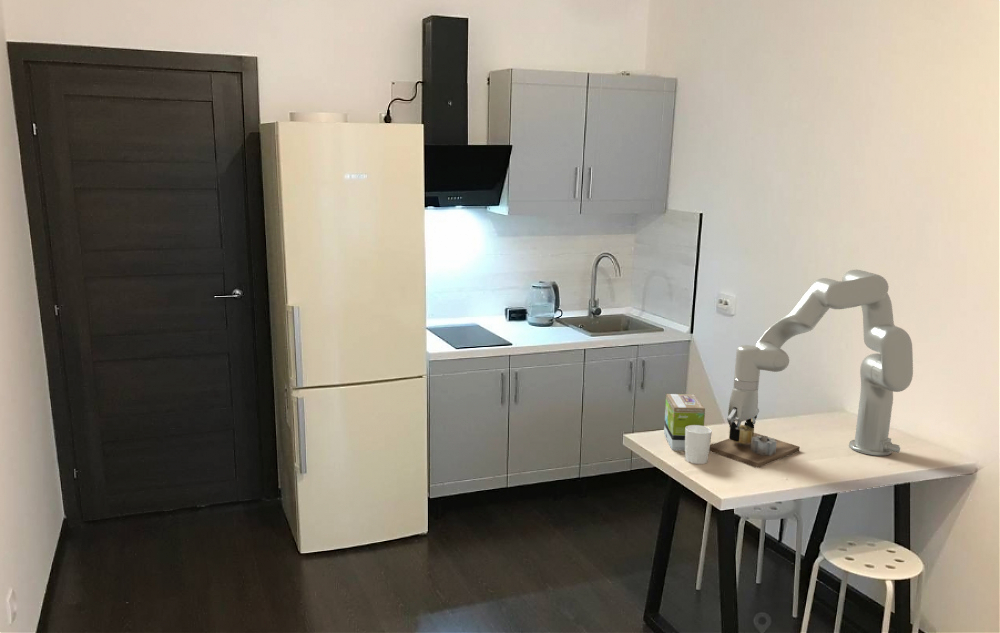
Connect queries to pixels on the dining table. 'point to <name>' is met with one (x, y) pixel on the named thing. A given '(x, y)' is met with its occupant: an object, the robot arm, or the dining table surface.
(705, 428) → the white cup
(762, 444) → the grey gear
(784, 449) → the gear board
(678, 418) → the tea box
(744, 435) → the brass gear
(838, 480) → the dining table surface
